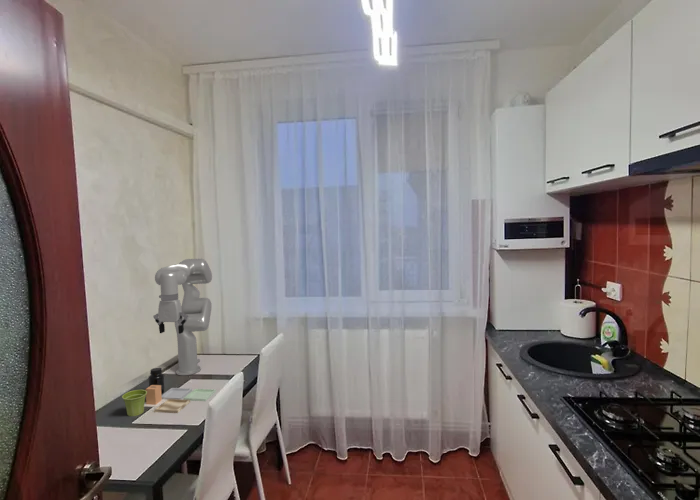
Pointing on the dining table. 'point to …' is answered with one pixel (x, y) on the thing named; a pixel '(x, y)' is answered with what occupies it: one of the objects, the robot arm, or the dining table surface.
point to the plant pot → (134, 402)
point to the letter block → (153, 394)
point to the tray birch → (172, 406)
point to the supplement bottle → (157, 378)
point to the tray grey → (176, 393)
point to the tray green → (200, 394)
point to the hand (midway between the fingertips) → (171, 332)
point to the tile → (154, 405)
